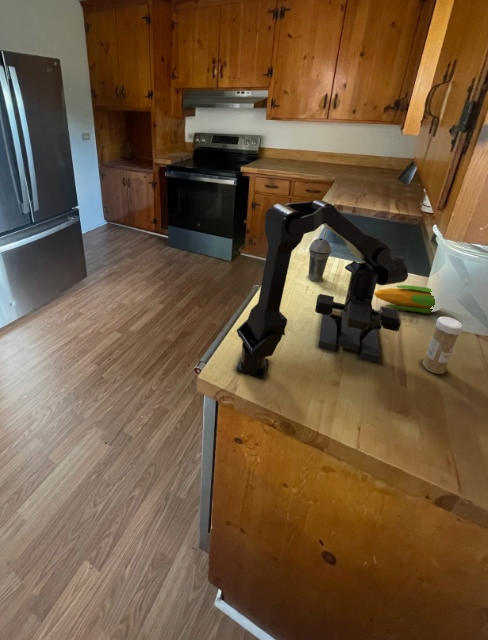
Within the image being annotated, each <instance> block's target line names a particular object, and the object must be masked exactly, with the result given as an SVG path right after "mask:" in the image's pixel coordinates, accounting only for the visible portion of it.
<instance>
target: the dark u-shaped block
mask: <svg viewBox="0 0 488 640" xmlns="http://www.w3.org/2000/svg"><path fill="white" fill-rule="evenodd" d="M321 315H322V316H321V321H320V329H319V337H318V346H317V347H318V348H319V349H324V350H327V351H331V352H335V351H336V348H337V337H338V331H337V326H336V323H335V320H334V319H332V318H330V317H329V315H324V314H321ZM345 321H346V313H345V312H342V327H343V328H347V329H351V330H355V331H359V335H360V332H361V329H357V328H353V327H352V328H351V327H348V326H347V325H346V324H345ZM379 344H380V343H379V335H378V329H374V330H372V331H371V332H369V333H368V334H367V336H366V337H365V338H364V339H363V340H362V341H361V342H360V347H359V354H360V356H359V357H360V359H361V360H365V361H368V362H372V363H375V364H379V363H380V361H381V360H380V359H381V353H380V345H379Z"/></svg>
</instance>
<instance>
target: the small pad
mask: <svg viewBox="0 0 488 640" xmlns="http://www.w3.org/2000/svg"><path fill="white" fill-rule="evenodd" d="M338 338H339V339H338V347H340V348H343V349H347V350H352V351H355V352H360V340H359V331H355V330H351V329H347V328H343V327H341V335H340V337H339V336H338Z"/></svg>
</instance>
